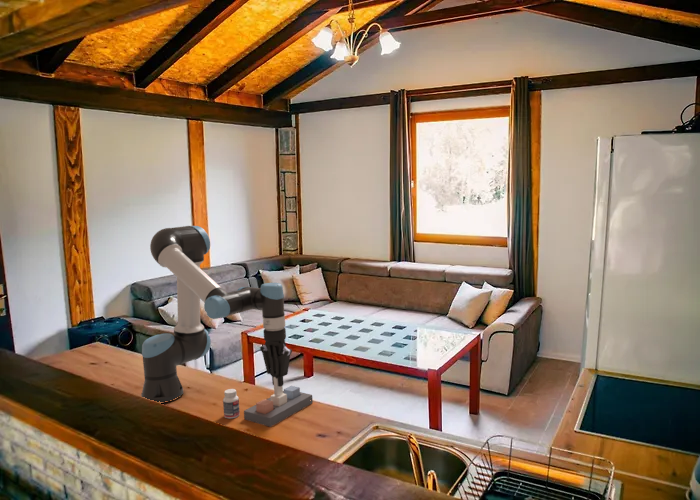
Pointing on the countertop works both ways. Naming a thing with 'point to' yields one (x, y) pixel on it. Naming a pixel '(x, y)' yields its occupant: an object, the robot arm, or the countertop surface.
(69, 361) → the countertop surface
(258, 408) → the terracotta key
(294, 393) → the slate key
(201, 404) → the countertop surface
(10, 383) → the countertop surface
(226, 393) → the pill bottle
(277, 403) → the white key
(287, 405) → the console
